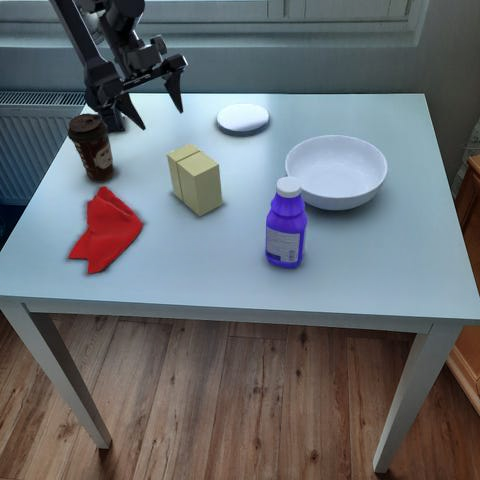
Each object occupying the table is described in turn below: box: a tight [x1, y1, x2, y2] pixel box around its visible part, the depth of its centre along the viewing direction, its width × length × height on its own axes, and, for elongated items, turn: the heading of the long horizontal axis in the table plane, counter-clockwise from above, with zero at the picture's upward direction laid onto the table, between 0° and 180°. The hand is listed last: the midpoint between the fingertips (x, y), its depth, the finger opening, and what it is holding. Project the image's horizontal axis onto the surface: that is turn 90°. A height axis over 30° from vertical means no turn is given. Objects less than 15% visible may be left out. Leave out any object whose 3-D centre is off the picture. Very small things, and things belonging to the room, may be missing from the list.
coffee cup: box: [67, 112, 116, 183], centre depth 103 cm, size 9×8×13 cm
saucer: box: [216, 102, 270, 138], centre depth 119 cm, size 13×13×2 cm
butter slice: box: [166, 142, 201, 202], centre depth 99 cm, size 4×6×10 cm, turn 128°
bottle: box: [264, 176, 308, 269], centre depth 83 cm, size 7×6×17 cm
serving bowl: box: [284, 134, 389, 211], centre depth 99 cm, size 21×21×7 cm
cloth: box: [67, 185, 144, 275], centre depth 96 cm, size 26×14×2 cm, turn 177°
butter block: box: [177, 150, 224, 217], centre depth 97 cm, size 6×6×10 cm
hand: (163, 121), depth 96 cm, fingers open, 9 cm apart
